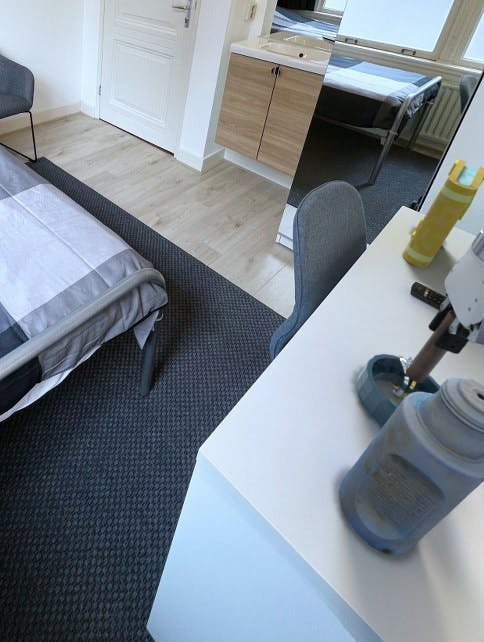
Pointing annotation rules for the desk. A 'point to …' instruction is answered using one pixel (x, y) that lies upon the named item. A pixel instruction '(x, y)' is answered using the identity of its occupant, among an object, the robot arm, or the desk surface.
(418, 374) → the brown wooden dowel
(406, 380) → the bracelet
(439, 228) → the yellow toy tower
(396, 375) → the bowl
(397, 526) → the bottle
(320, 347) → the desk surface
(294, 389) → the desk surface
